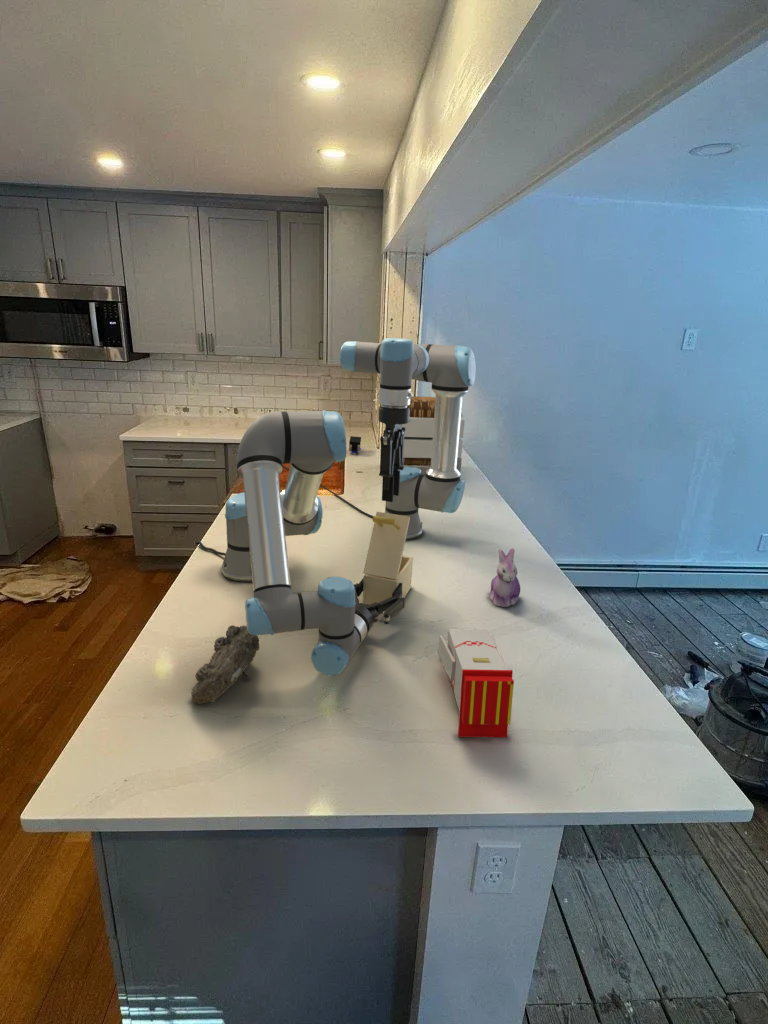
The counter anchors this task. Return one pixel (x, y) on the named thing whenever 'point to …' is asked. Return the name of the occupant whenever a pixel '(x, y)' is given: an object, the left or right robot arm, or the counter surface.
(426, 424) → the transformer
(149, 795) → the counter surface
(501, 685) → the white and red box
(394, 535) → the lid
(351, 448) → the figurine character
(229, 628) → the fossil
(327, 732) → the counter surface
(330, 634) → the left robot arm
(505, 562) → the figurine
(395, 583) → the chest
